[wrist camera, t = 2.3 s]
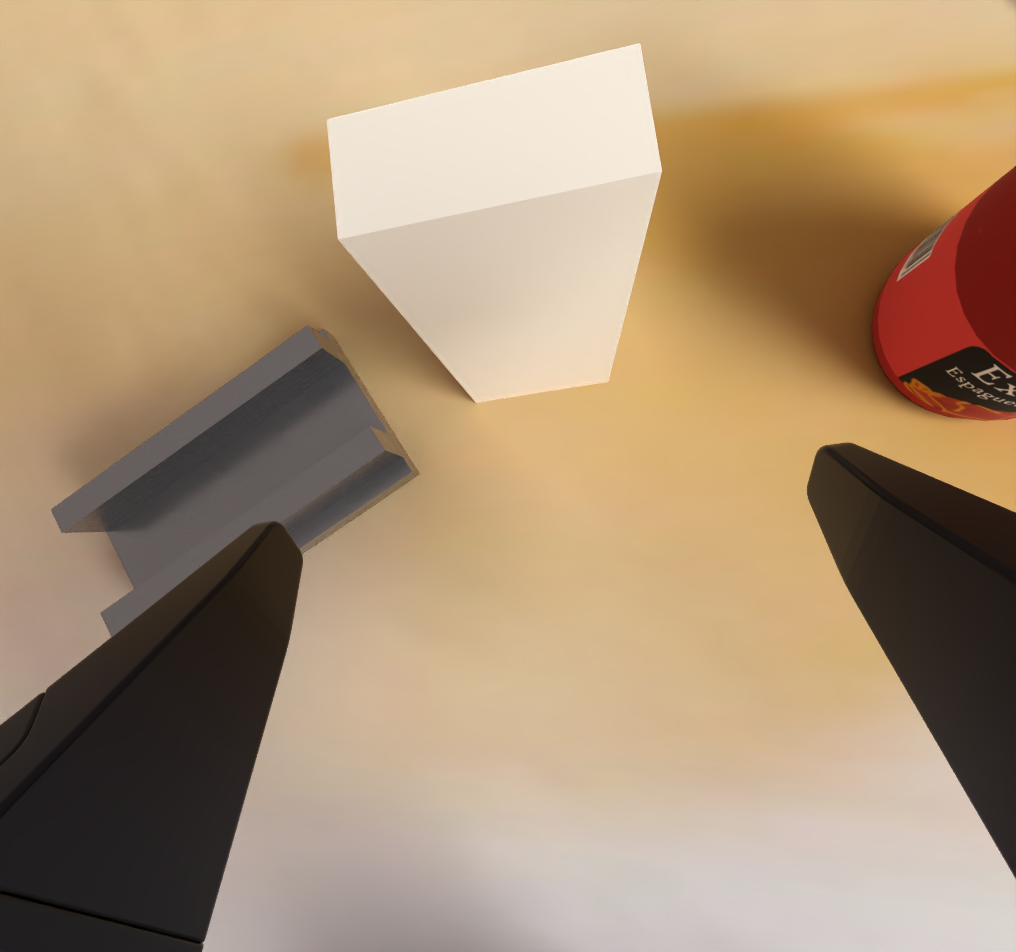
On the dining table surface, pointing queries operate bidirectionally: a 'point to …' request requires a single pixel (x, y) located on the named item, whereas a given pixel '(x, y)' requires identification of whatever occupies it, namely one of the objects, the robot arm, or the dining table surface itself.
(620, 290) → the door panel
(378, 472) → the bottom track
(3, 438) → the dining table surface
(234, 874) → the dining table surface
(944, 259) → the canned food
